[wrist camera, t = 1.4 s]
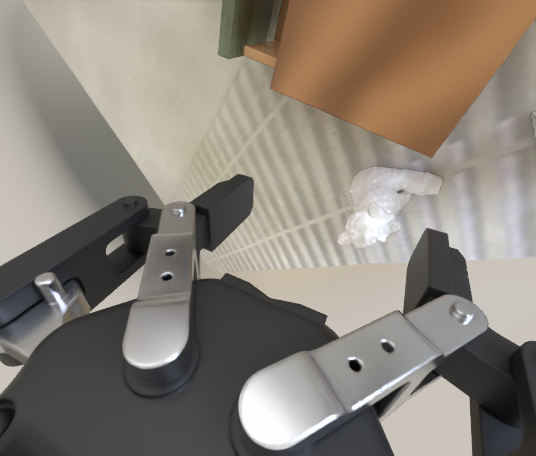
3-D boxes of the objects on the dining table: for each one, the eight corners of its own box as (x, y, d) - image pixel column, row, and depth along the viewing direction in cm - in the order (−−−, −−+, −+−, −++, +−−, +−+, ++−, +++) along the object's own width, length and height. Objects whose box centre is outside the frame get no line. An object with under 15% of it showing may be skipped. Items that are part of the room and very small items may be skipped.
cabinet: (306, 71, 30) (270, 88, 24) (357, -102, 21) (321, -147, 15) (434, 123, 28) (431, 158, 21) (552, -49, 19) (607, -78, 12)
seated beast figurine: (392, 231, 37) (377, 297, 28) (337, 198, 38) (307, 252, 29) (447, 178, 30) (449, 244, 22) (378, 139, 31) (354, 187, 22)
